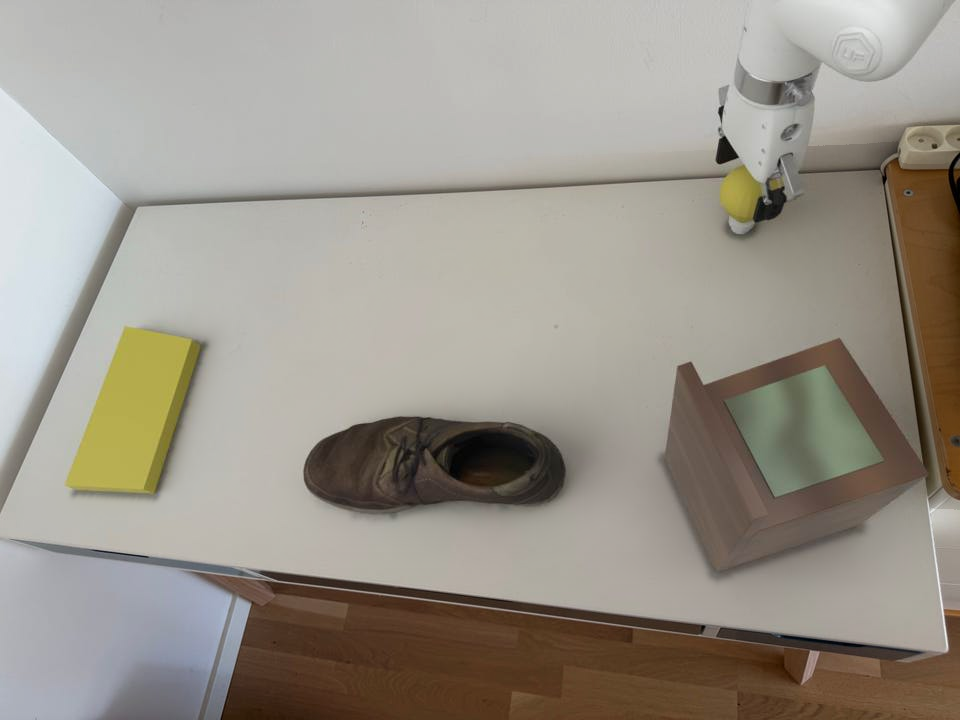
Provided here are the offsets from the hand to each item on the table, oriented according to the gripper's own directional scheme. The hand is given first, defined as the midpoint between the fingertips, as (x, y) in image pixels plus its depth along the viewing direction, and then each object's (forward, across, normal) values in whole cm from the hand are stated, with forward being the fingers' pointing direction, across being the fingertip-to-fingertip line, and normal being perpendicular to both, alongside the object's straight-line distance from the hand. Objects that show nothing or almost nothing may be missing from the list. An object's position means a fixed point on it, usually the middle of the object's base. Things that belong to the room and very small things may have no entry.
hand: (746, 187), depth 78 cm
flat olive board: (+8, +5, +84) cm, 85 cm away
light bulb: (+8, 0, 0) cm, 8 cm away
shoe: (+8, -19, +46) cm, 51 cm away
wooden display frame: (+7, -32, +13) cm, 36 cm away
